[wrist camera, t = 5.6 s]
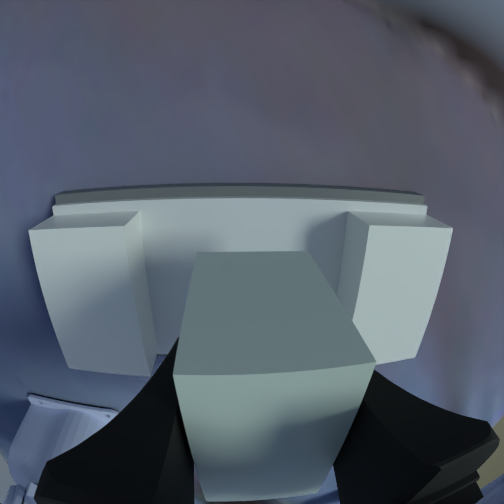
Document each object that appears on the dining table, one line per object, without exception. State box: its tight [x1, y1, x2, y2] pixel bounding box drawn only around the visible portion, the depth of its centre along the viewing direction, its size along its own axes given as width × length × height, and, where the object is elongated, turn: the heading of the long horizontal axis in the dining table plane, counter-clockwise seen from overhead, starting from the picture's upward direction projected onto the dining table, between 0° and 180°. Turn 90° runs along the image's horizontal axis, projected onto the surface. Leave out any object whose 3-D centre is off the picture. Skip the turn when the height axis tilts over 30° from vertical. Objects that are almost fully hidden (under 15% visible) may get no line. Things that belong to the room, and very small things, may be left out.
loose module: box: [173, 251, 376, 501], centre depth 9 cm, size 4×7×6 cm, turn 179°
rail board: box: [28, 183, 453, 377], centre depth 15 cm, size 20×10×4 cm, turn 89°
